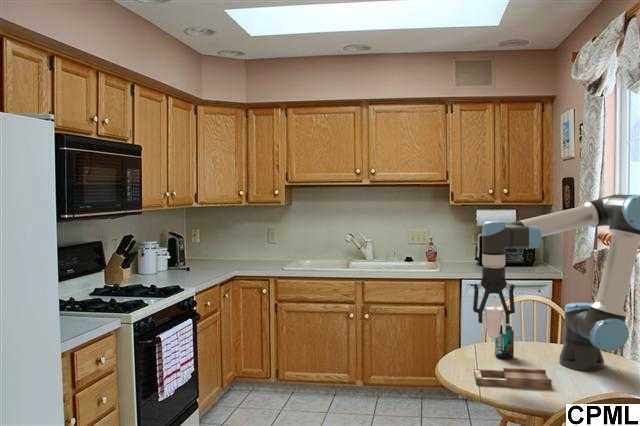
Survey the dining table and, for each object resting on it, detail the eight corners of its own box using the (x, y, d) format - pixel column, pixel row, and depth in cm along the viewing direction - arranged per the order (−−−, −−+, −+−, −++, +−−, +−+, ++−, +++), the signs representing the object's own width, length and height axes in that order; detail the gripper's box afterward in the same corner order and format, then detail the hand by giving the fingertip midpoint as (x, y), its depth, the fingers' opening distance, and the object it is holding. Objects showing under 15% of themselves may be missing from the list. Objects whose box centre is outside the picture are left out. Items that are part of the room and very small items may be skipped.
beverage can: (517, 358, 213) (517, 328, 212) (501, 360, 211) (501, 329, 210) (507, 353, 219) (507, 323, 219) (491, 355, 218) (491, 325, 217)
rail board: (545, 378, 191) (545, 369, 191) (551, 388, 182) (551, 379, 182) (474, 374, 196) (474, 366, 196) (476, 384, 187) (476, 375, 186)
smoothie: (492, 339, 185) (492, 298, 184) (479, 335, 191) (479, 295, 190) (507, 337, 187) (507, 296, 187) (494, 332, 193) (494, 293, 193)
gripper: (521, 264, 190) (521, 330, 191) (464, 264, 193) (464, 328, 195) (525, 268, 182) (524, 336, 184) (465, 267, 186) (465, 334, 187)
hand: (493, 332), depth 189 cm, fingers closed on smoothie, 6 cm apart
